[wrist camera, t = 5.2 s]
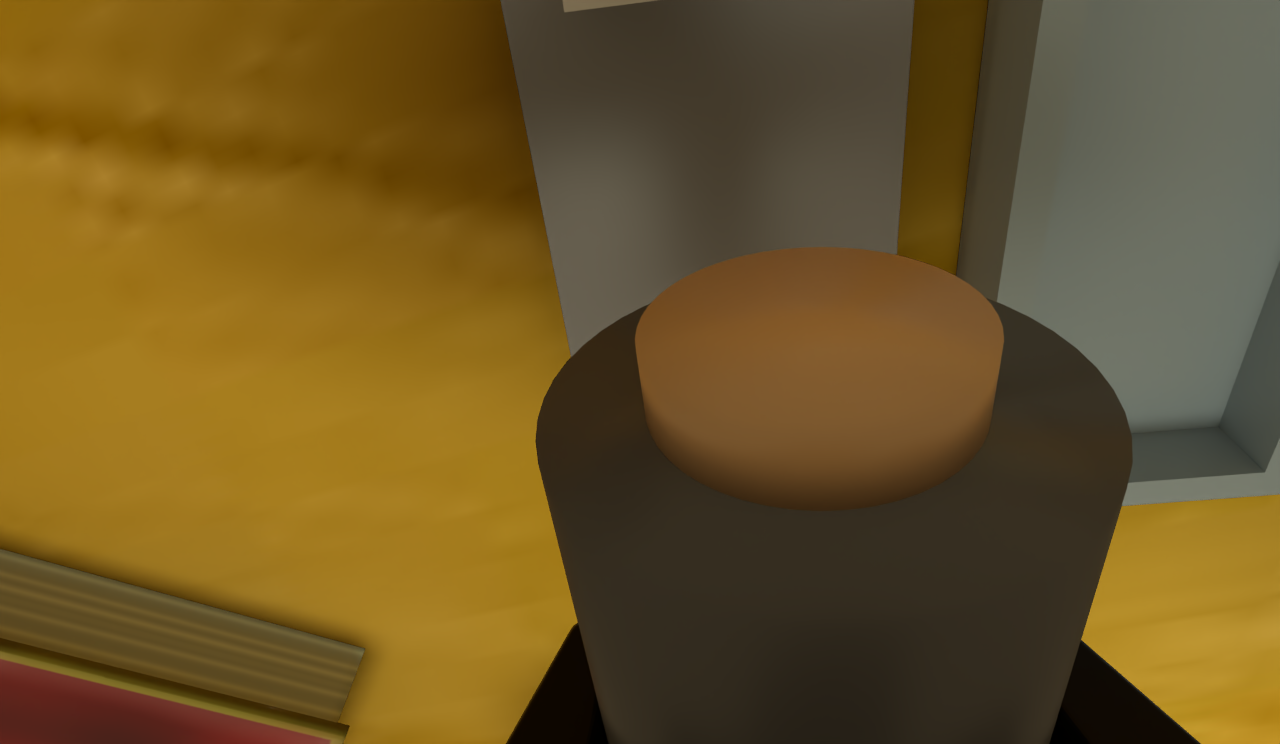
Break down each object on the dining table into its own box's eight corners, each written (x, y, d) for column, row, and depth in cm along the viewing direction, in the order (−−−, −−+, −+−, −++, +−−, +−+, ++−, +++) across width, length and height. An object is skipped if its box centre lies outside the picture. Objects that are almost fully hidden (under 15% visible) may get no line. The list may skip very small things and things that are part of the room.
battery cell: (918, 757, 12) (1028, 1115, 8) (656, 772, 12) (659, 1124, 9) (999, 186, 7) (1349, 501, 3) (550, 235, 7) (462, 568, 4)
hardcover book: (318, 793, 34) (280, 899, 30) (-225, 667, 30) (-344, 775, 26) (382, 634, 28) (342, 745, 24) (-291, 447, 24) (-457, 549, 20)
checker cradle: (873, 435, 22) (906, 519, 19) (598, 458, 23) (589, 542, 20) (909, -153, 14) (972, -159, 11) (492, -94, 15) (453, -86, 12)
